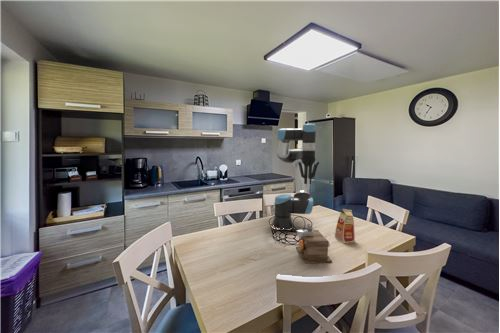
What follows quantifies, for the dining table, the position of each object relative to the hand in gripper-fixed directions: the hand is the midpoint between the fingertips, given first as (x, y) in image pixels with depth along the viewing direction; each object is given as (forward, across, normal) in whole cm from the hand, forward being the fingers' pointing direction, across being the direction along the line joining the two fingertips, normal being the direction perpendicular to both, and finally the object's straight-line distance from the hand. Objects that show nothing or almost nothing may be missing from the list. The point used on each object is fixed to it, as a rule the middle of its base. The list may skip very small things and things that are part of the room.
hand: (307, 189), depth 132 cm
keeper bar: (+21, -7, -18) cm, 29 cm away
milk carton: (+33, +25, 0) cm, 41 cm away
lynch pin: (+29, -1, -18) cm, 34 cm away
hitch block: (+32, -2, -18) cm, 37 cm away
